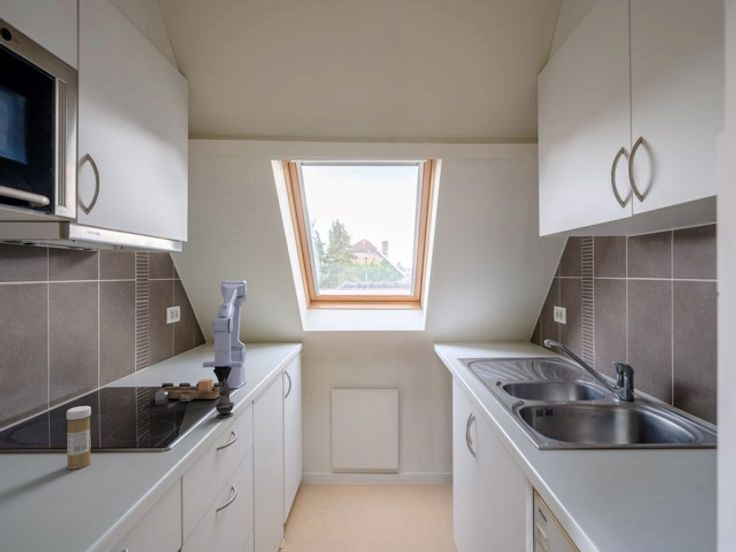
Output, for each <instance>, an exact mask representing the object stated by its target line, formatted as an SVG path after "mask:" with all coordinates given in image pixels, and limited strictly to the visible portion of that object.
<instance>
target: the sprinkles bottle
mask: <svg viewBox="0 0 736 552" xmlns="http://www.w3.org/2000/svg"><path fill="white" fill-rule="evenodd" d="M91 415H92V407H91V406H90V405H89V406H88V405H82V406H75V407H71V408H69V409H67V411H66V420H67V432H66V436H67V437H66V438H67V439H66V440H67V441H66V442H67V445H66V446H67V448H66V450H67V451H66V452H67V465H66V468H67V469H68V470H78V469H82V468H85V467H87V466H88V465H90V464H91V461H92V459H91V447H92V446H91V445H92V444H91V443H92V442H91V437H92V436H91Z"/></svg>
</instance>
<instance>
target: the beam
mask: <svg viewBox="0 0 736 552" xmlns="http://www.w3.org/2000/svg"><path fill="white" fill-rule="evenodd" d="M160 391H168V399H179V400H178V401H179V402H183V403H184V402H185V401H190V402H192V401H193V399H194V400H195V399H199V400H200V399H204V400H205V399H207V400H208V399H209V400H212V399H217V398H218V397H220V394H219V392H220V386H212V390H211V391H198V386H165V387H162V388H160V389H158V390H156V391H155V393H156V392H160ZM191 400H192V401H191ZM185 403H186V402H185Z"/></svg>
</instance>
